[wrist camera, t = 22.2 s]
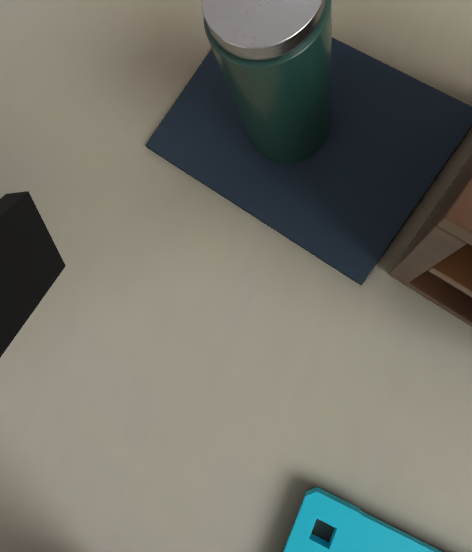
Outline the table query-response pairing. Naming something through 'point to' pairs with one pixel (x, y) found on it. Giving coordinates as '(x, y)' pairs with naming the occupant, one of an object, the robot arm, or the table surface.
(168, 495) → the table surface
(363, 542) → the diskette
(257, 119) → the green can
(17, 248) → the robot arm
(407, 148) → the felt mat
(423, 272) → the walnut shelf
